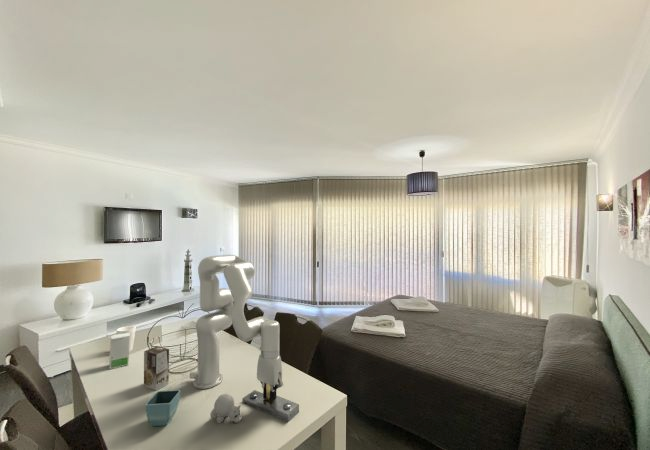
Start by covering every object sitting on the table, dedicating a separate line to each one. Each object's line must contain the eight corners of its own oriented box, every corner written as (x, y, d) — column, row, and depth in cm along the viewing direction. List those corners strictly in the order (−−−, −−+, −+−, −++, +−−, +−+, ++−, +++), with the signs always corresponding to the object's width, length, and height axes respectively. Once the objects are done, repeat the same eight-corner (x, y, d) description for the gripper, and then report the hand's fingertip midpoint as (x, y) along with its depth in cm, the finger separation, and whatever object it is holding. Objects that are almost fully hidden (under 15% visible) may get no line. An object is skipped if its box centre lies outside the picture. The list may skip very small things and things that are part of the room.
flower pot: (157, 414, 105) (157, 390, 105) (180, 412, 106) (181, 389, 106) (143, 430, 96) (144, 404, 97) (169, 429, 97) (170, 403, 97)
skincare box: (109, 369, 139) (110, 339, 140) (109, 364, 145) (110, 335, 145) (129, 364, 145) (130, 335, 145) (128, 360, 150) (129, 331, 150)
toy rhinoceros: (230, 436, 97) (238, 416, 96) (206, 416, 101) (213, 397, 100) (243, 423, 104) (250, 404, 103) (219, 404, 108) (226, 386, 107)
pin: (270, 406, 108) (270, 381, 108) (264, 404, 109) (264, 379, 110) (275, 402, 110) (275, 377, 111) (269, 400, 112) (269, 375, 112)
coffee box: (169, 383, 126) (169, 348, 127) (155, 391, 120) (156, 354, 121) (156, 379, 130) (157, 345, 131) (142, 386, 124) (143, 350, 125)
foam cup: (137, 350, 163) (137, 328, 164) (118, 355, 156) (119, 332, 157) (132, 345, 169) (133, 324, 170) (114, 350, 162) (115, 328, 163)
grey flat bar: (242, 401, 113) (242, 393, 113) (254, 393, 119) (254, 385, 119) (287, 422, 100) (287, 412, 101) (299, 411, 106) (299, 402, 107)
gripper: (248, 351, 111) (248, 397, 111) (279, 361, 103) (279, 410, 102) (261, 345, 118) (261, 388, 117) (291, 353, 109) (291, 399, 109)
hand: (269, 398), depth 110 cm, fingers closed on pin, 2 cm apart
